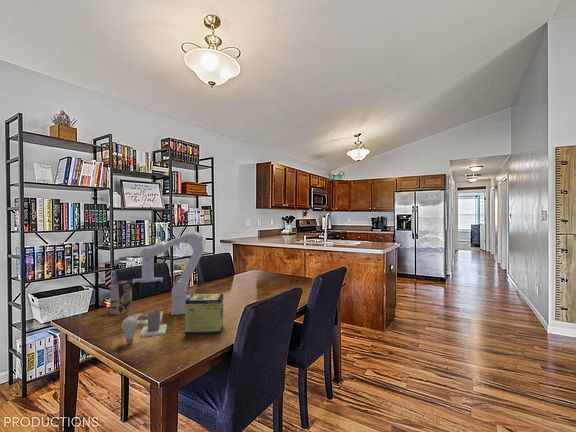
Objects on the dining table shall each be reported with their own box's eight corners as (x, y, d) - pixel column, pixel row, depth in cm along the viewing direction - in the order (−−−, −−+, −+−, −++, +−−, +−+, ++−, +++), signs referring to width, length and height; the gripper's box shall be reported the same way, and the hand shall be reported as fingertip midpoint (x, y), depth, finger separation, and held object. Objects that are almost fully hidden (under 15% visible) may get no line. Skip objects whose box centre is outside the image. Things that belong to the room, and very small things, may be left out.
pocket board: (163, 314, 160) (163, 311, 160) (160, 325, 145) (160, 321, 145) (129, 317, 156) (129, 314, 156) (122, 329, 140) (122, 325, 140)
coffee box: (120, 315, 160) (120, 284, 160) (109, 314, 161) (109, 283, 161) (132, 309, 169) (132, 280, 169) (122, 308, 170) (122, 279, 170)
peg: (160, 326, 141) (160, 310, 141) (158, 330, 137) (158, 313, 137) (149, 327, 140) (149, 311, 140) (147, 331, 135) (147, 314, 135)
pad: (166, 326, 144) (166, 324, 144) (165, 334, 135) (165, 332, 135) (143, 328, 141) (143, 326, 141) (140, 337, 132) (140, 334, 132)
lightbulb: (125, 341, 128) (125, 314, 128) (140, 340, 128) (140, 314, 128) (118, 347, 122) (118, 319, 122) (134, 346, 122) (134, 319, 122)
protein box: (220, 334, 135) (220, 299, 135) (184, 335, 134) (184, 300, 134) (223, 325, 146) (223, 293, 146) (190, 326, 144) (190, 293, 144)
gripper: (131, 272, 157) (131, 298, 157) (161, 270, 161) (161, 296, 161) (133, 269, 163) (133, 295, 163) (163, 268, 168) (163, 293, 168)
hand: (147, 295), depth 163 cm, fingers open, 7 cm apart
